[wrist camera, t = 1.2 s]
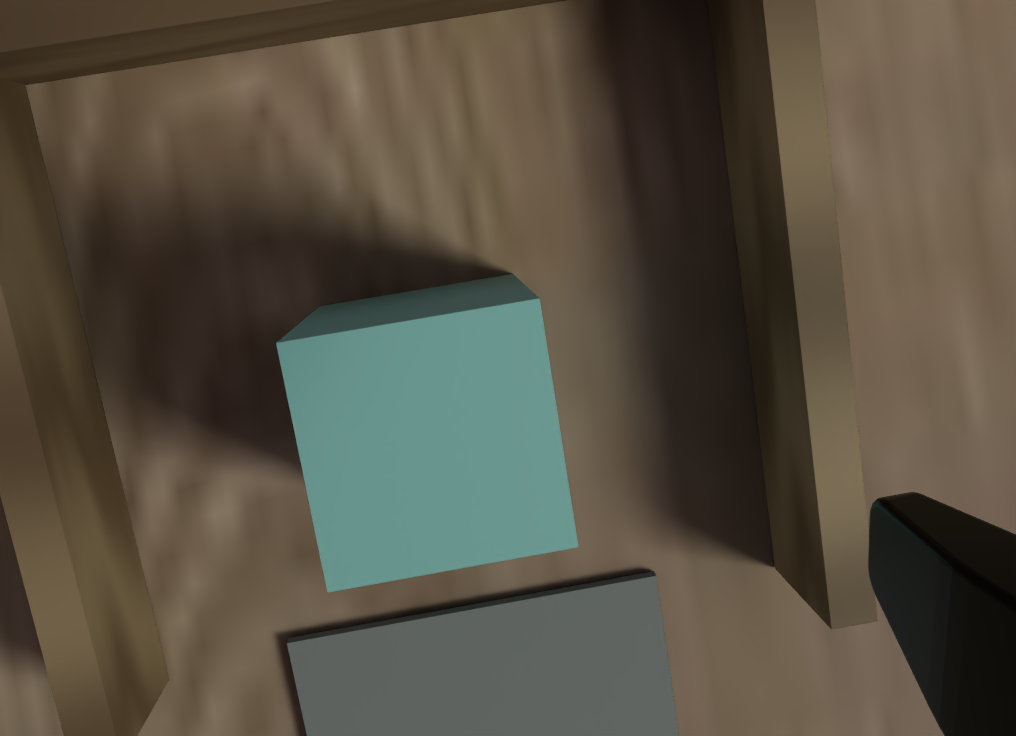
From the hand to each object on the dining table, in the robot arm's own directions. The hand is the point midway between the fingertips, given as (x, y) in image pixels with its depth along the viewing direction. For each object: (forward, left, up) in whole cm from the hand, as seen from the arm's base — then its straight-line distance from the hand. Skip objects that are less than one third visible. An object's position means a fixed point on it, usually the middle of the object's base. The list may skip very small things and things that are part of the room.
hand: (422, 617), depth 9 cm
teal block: (0, 0, -13) cm, 14 cm away
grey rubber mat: (-10, 0, -13) cm, 17 cm away
